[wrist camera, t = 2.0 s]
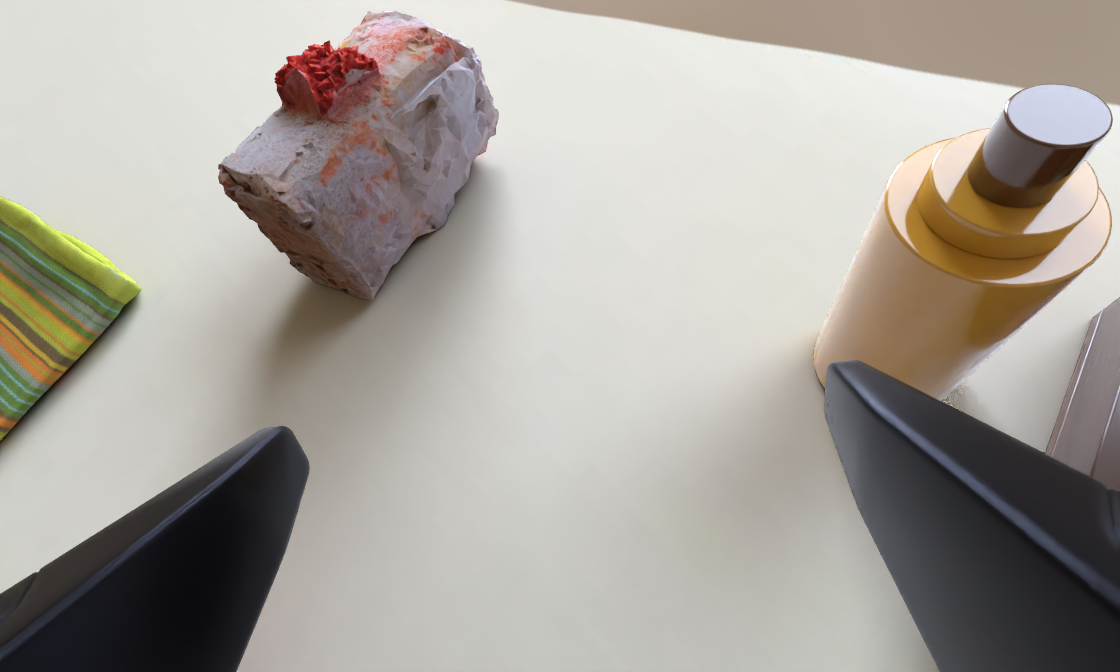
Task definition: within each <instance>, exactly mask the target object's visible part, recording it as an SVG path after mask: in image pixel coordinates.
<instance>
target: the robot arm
mask: <svg viewBox="0 0 1120 672" xmlns="http://www.w3.org/2000/svg"><path fill="white" fill-rule="evenodd" d="M824 410H825V416H826V420H827V423H828V426H829V429H830V432H831V434H832V437H833V440H834V443H835V446H836V448H837V451H838V454H839V457H840V460H841V462H842V465H843V468H844V471H845V474H846V477H847V479H848V482H849V485H850V488H851V491H852V493H853V496H854V499H855V501H856V504H857V506H858V509H859V511H860V513H861V515H862V517H863V519H864V522H865V524H866V526H867V528H868V530H869V532H870V534H871V536H872V538H873V540H874V542H875V544H876V546H877V548H878V550H879V552H880V554H881V556H882V558H883V560H884V562H885V564H886V566H887V568H888V569H889V571H890V573H891V575H892V577H893V579H894V581H895V583H896V585H897V587H898V589H899V591H900V593H901V595H902V597H903V599H904V601H905V603H906V605H907V607H908V609H909V611H910V613H911V615H912V617H913V619H914V621H915V623H916V625H917V627H918V629H919V631H920V633H921V635H922V637H923V639H924V641H925V643H926V645H927V647H928V649H929V651H930V653H931V655H932V657H933V659H934V661H935V663H936V665H937V667H938V669H939V671H940V672H1120V491H1119V490H1117V489H1115V488H1110V489H1108V487H1107V485H1106V484H1105V483H1103V482H1101V481H1099V480H1097V479H1095V478H1093V477H1091V476H1089V475H1087V474H1085V473H1083V472H1081V471H1079V470H1077V469H1075V468H1073V467H1071V466H1069V465H1067V464H1065V463H1063V462H1061V461H1059V460H1057V459H1055V458H1053V457H1051V456H1049V455H1047V454H1045V453H1043V452H1041V451H1039V450H1037V449H1035V448H1033V447H1031V446H1029V445H1027V444H1025V443H1023V442H1021V441H1019V440H1017V439H1015V438H1013V437H1011V436H1009V435H1007V434H1005V433H1003V432H1001V431H999V430H997V429H995V428H993V427H991V426H989V425H987V424H985V423H983V422H981V421H979V420H977V419H975V418H973V417H971V416H969V415H967V414H965V413H963V412H961V411H959V410H957V409H956V408H954V407H952V406H950V405H948V404H946V403H944V402H942V401H940V400H938V399H936V398H934V397H932V396H930V395H928V394H926V393H924V392H922V391H920V390H918V389H916V388H914V387H912V386H910V385H908V384H906V383H904V382H902V381H900V380H898V379H896V378H894V377H892V376H890V375H888V374H886V373H884V372H882V371H880V370H878V369H876V368H874V367H872V366H870V365H868V364H866V363H864V362H862V361H859V360H847V361H839V362H832V363H831V364H829V365H828V368H827V371H826V385H825V401H824ZM308 475H309V461H308V459H307V457H306V455H305V453H304V451H303V450H302V448H301V446H300V444H299V442H298V441H297V439H296V437H295V435H294V434H293V432H292V431H291V430H290V429H289V428H288V427H285V426H278V427H269V428H264V429H261V430H259V431H258V432H256V433H255V434H253V435H251V436H250V437H248V438H247V439H245V440H244V441H242V442H240V443H239V444H237V445H236V446H234V447H232V448H231V449H229V450H228V451H226V452H225V453H223V454H221V455H220V456H218V457H217V458H215V459H213V460H212V461H210V462H209V463H207V464H206V465H204V466H202V467H201V468H199V469H198V470H196V471H194V472H193V473H191V474H190V475H188V476H187V477H185V478H183V479H182V480H180V481H179V482H177V483H175V484H174V485H172V486H171V487H169V488H168V489H166V490H164V491H163V492H161V493H160V494H158V495H156V496H155V497H153V498H152V499H150V500H149V501H147V502H145V503H144V504H142V505H141V506H139V507H137V508H136V509H134V510H133V511H131V512H130V513H128V514H126V515H125V516H123V517H122V518H120V519H119V520H117V521H115V522H114V523H112V524H111V525H109V526H107V527H106V528H104V529H103V530H101V531H100V532H98V533H96V534H95V535H93V536H92V537H90V538H88V539H87V540H85V541H84V542H82V543H81V544H79V545H77V546H76V547H74V548H73V549H71V550H69V551H68V552H66V553H65V554H63V555H62V556H60V557H58V558H57V559H55V560H54V561H52V562H50V563H49V564H47V565H46V566H44V567H43V568H41V569H40V571H39V572H35V573H33V574H31V575H30V576H28V577H27V578H25V579H23V580H22V581H20V582H19V583H17V584H15V585H14V586H12V587H11V588H9V589H8V590H6V591H4V592H3V593H1V594H0V672H237V669H238V667H239V664H240V662H241V659H242V657H243V655H244V652H245V650H246V647H247V645H248V642H249V640H250V637H251V635H252V633H253V630H254V628H255V625H256V623H257V620H258V618H259V616H260V613H261V611H262V608H263V606H264V603H265V601H266V598H267V596H268V594H269V591H270V589H271V586H272V584H273V581H274V579H275V577H276V574H277V572H278V569H279V567H280V564H281V562H282V559H283V556H284V554H285V551H286V548H287V545H288V542H289V539H290V535H291V532H292V529H293V525H294V522H295V519H296V515H297V512H298V509H299V505H300V502H301V499H302V495H303V492H304V489H305V485H306V482H307V479H308Z"/></svg>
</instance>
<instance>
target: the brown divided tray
mask: <svg viewBox="0 0 1120 672" xmlns="http://www.w3.org/2000/svg"><path fill="white" fill-rule="evenodd" d="M1045 454H1047V455H1049V456H1051V457H1053V458H1055V459H1057V460H1059V461H1061V462H1063V463H1065V464H1067V465H1069V466H1071V467H1073V468H1075V469H1077V470H1079V471H1081V472H1083V473H1085V474H1087V475H1089V476H1091V477H1093V478H1095V479H1097V480H1099V481H1101V482H1103V483H1105V484H1106V485H1107V487H1108V489H1110V488H1115V489H1117V490H1119V491H1120V297H1119V298H1118V299H1117V300H1115V301H1114V302H1113V303H1111V304H1110V305H1109V306H1108V307H1106V308H1105V309H1104V310H1103V311H1101V312H1099V313H1098V314H1097V315H1096V316H1094V317H1093V319H1092V322H1091V324H1090V327H1089V330H1088V333H1087V336H1086V339H1085V342H1084V344H1083V347H1082V350H1081V353H1080V356H1079V359H1078V361H1077V364H1076V367H1075V370H1074V373H1073V376H1072V379H1071V381H1070V384H1069V387H1068V390H1067V393H1066V396H1065V399H1064V401H1063V404H1062V407H1061V410H1060V413H1059V416H1058V418H1057V421H1056V424H1055V427H1054V430H1053V433H1052V436H1051V438H1050V441H1049V444H1048V447H1047V450H1046V453H1045Z"/></svg>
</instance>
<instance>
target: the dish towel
mask: <svg viewBox="0 0 1120 672" xmlns="http://www.w3.org/2000/svg"><path fill="white" fill-rule="evenodd" d="M140 291H141V287H139V286H137V283H136V282H135V281H134V280H132V279H131V278H130V277H129V276H127V275H125V274H124V273H123V272H121V271H120V270H118V269H117V268H116V267H115V265H114V264H113V263H112V262H111V261H110V260H109V259H108V258H106V257H105V256H103V255H102V254H101V253H99V252H98V251H96V250H95V249H93V248H92V247H90V246H89V245H87V244H85V243H84V242H82V241H79V240H78V239H77V238H75V237H73V236H70V235H68V234H65V233H62V232H59V231H57V230H55V229H53V228H51V227H50V226H49V225H47V224H46V223H44V222H43V220H42V219H41V218H40V217H39V216H37V215H36V214H34V213H32V212H30V211H29V210H27V209H25V208H24V207H23V206H21V205H20V204H17V203H14V202H12V201H10V200H7V199H5V198H3V197H1V196H0V440H1V439H2V438H3V437H4V436H5V435H6V434H7V433H8V432H9V431H10V430H11V429H12V427H13V426H14V425H15V424H16V423H17V422H18V421H19V420H20V418H21V417H22V416H23V415H24V414H25V413H26V412H27V411H28V410H29V409H30V408H31V407H32V405H33V404H34V403H35V402H36V401H37V400H38V399H39V398H40V397H41V396H42V395H43V394H44V393H45V392H46V391H47V390H48V389H49V388H50V387H51V386H52V385H53V384H54V382H55V381H56V380H57V379H58V378H59V377H60V376H61V375H62V374H63V373H64V372H65V371H66V370H67V369H68V368H69V367H70V366H71V365H72V364H73V363H74V362H75V361H76V360H77V359H78V358H79V357H80V356H81V355H82V354H83V353H84V352H85V351H86V350H87V349H88V347H89V346H90V345H91V344H92V343H93V342H94V341H95V340H96V339H97V338H98V337H99V336H100V335H101V334H102V332H103V331H104V330H105V329H106V328H107V327H108V326H109V325H110V323H111V322H112V321H113V320H114V319H115V318H116V317H117V316H118V314H119V313H120V311H121V309H122V307H123V306H125V305H126V304H127V303H128V302H129V301H130V300H131V299H132V298H134V297H135V296H136V295H137V294H139V292H140Z"/></svg>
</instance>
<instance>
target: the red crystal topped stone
mask: <svg viewBox="0 0 1120 672" xmlns="http://www.w3.org/2000/svg"><path fill="white" fill-rule="evenodd" d="M308 48H309V49H307V50H305V51H304V52H303V54H302V55H301V56H288V57H286V58H287V61H288V64H287V65H285V64H284V66H283V67H282V68H281V69H280V70H279V71H278V72H277V73H275V74H276V78H275V80H276V81H275V83H276V84H277V92H278V94H279V96H280V98H281V100H282V107H281V108H280V109H278V110H277V111H275V112H274V113H273V114H271V115H270V116H269V117H268V119H267V120H266V121H265V122H264V123H263V125H262V126H261V127H257V128H256V129H255V130H254V131H253V132H252V133H251V134H250V135H249V136H248V137H247V138H246V139H245V140H244V141H243V142H242V143H241V144H240V145H239V146H238V148H237V150H236V151H235V153H232V154H231V155H230V156H228V157H225V159H224V160H223V162H222V163H221V164H219V166H218V169H220V173H219V177H218V179H219V183H220V184H222V185H223V187H224V191H225V194H226V195H227V196H228V197H229V198H231V199H232V200H233V201H235V202H236V203H237V204H238V206H239V208H240V209H241V210H242V211H243V212H244V213H245V214H246V216H247V217H248V218H249V219H251V220H253V221H255V222H256V223H257V224H258V227H259V229H260V231H261V232H262V233H263V234H264V235H265V236H266V237H267V238H269V239H270V241H271V242H272V243H273V244H274V245H275V247H276V248H277V249H278V250H279V251H280V252H285V253H286V255H287V256H288V257H289V258H290V264H291V265H292V266H293V267H294V268H296V269H297V270H298V271H299V272H301V273H303V274H305V275H306V276H307V277H309V278H311V279H312V281H313V282H315V283H318V284H321V285H325V286H330V287H333V288H335V289H338V290H340V291H343V292H345V293H348V294H350V295H353V296H355V297H358V298H363V299H368V300H373V299H374V297H375V295H376V293H377V291H378V289H379V287H380V286H381V285H382V284H383V283H384V280H385V278H386V276H387V274H388V272H389V270H390V268H391V266H392V265H394V264H396V263H398V261H399V260H400V259H401V257H402V256H403V254H404V253H405V252H406V250H407V249H408V247H409V246H410V245H411V244H412V242H413V241H414V240H415V239H416V238H417V237H418V236H421V235H424V234H427V233H430V232H433V231H436V230H438V229H439V228H440V227H442V226H443V225H444V224H445V223H446V222H447V216H448V214H449V212H450V211H451V209H452V208H453V206H454V194H455V193H456V192H457V191H458V190H459V189H460V188H462V187H463V185H464V184H465V183H466V182H467V181H468V179H469V174H470V168H471V163H472V162H473V160H474V159H475V158H476V157H477V156H478V155H480V154H482V153H484V152H486V148H487V144H488V139H489V138H490V137H491V136H494V135H496V125H497V122H498V115H499V113H498V110H497V109H495V108H494V106H493V98H492V96H491V94H490V92H489V90H488V87H487V85H486V84H485V78H484V76H483V73H482V71H481V69H482V67H481V61H480V59H479V57H478V56H477V55H476V54H475V52H474V49H473V47H467V46H466V45H465V44H464V43H463V42H462V41H460V40H456V39H452V38H451V37H450V35H449V34H447V33H445V32H443V31H440V30H438V29H436V28H433V27H432V26H431V25H430V24H428V23H426V22H424V21H423V20H421V19H418V18H416V17H412V16H409V15H406V14H401V13H399V12H397V11H391V12H387V11H382V12H368V13H367V14H366V16H365V17H364V19H363V21H362V22H361V24H360V25H359V26H358V27H356V28H354V30H353V31H352V32H351V34H350V35H349V36H348V37H347V38H346V39H344V40H343V41H342V42H341V43H340V44H339V45H338V46H337V47H336V48H335V49H333V47H332V46H331V45H330V41H327V42H325V43H324V45H316V44H313V45H312V46H308ZM298 268H299V269H298Z"/></svg>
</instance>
